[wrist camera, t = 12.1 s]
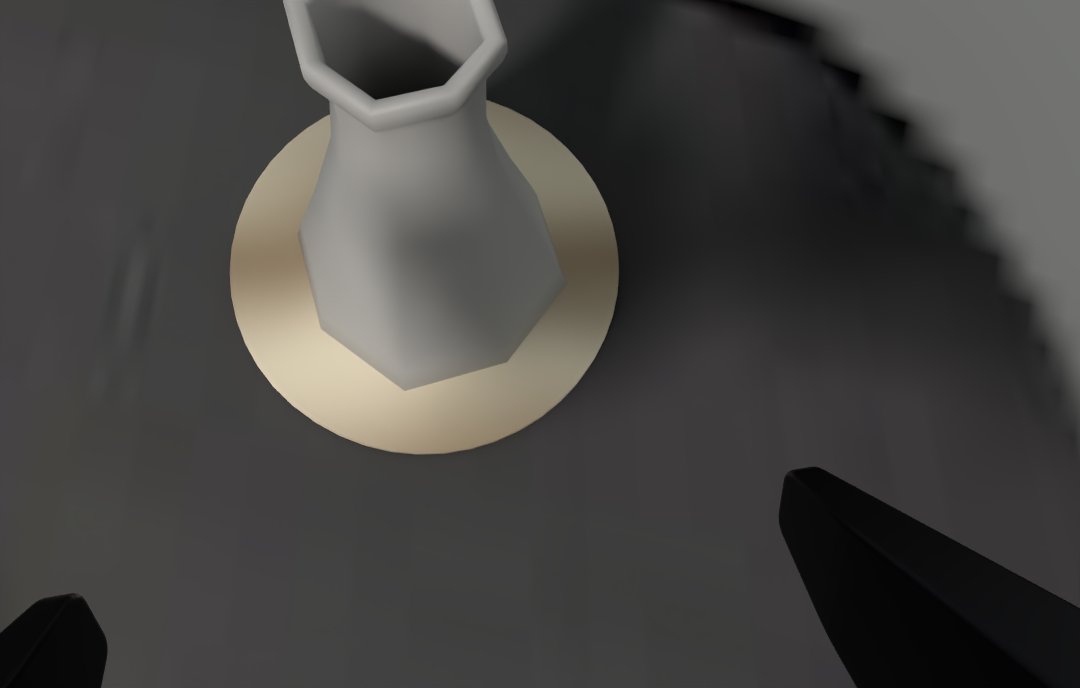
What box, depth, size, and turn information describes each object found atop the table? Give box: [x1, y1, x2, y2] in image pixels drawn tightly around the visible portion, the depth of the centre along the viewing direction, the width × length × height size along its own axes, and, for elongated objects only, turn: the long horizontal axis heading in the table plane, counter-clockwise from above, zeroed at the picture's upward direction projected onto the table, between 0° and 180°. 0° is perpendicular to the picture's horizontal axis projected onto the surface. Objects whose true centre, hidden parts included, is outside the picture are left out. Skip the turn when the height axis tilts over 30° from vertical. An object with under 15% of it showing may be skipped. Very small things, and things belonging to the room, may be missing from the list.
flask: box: [283, 0, 567, 391], centre depth 15 cm, size 7×7×10 cm
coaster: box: [230, 100, 619, 455], centre depth 20 cm, size 11×11×1 cm
